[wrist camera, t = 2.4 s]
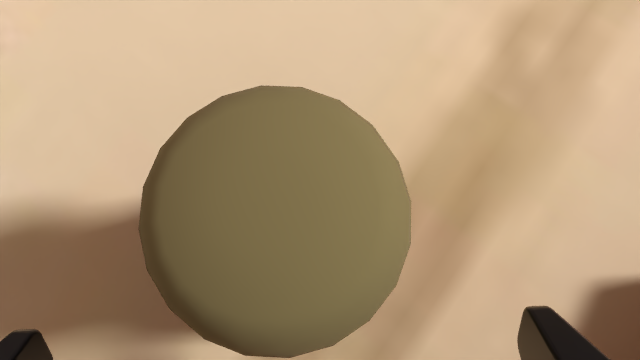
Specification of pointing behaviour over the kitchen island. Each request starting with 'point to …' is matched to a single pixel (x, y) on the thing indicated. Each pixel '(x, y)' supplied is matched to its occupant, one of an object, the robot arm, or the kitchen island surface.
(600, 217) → the kitchen island surface
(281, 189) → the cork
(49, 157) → the kitchen island surface
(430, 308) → the kitchen island surface
